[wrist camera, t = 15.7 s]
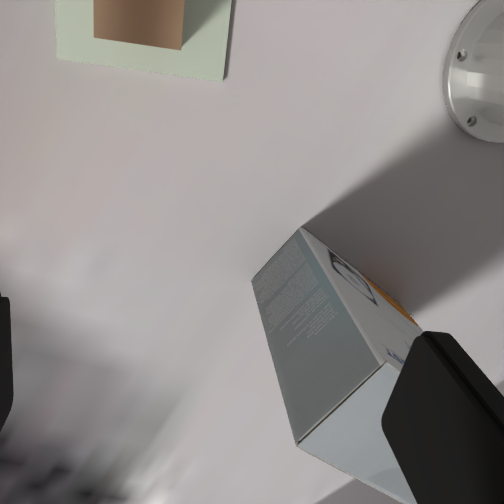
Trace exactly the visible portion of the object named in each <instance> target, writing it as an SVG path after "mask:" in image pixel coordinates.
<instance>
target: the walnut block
mask: <svg viewBox="0 0 504 504" xmlns="http://www.w3.org/2000/svg"><path fill="white" fill-rule="evenodd" d="M184 2H185V0H93V17H94V38H99V39H106V40H113V41H120V42H126V43H133V44H140V45H147V46H153V47H160V48H167V49H174V50H181V47H182V32H183V17H184Z"/></svg>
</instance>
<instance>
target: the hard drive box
mask: <svg viewBox="0 0 504 504" xmlns="http://www.w3.org/2000/svg"><path fill="white" fill-rule="evenodd" d="M251 283H252V286H253V290H254V294H255V297H256V301H257V304H258V308H259V312H260V315H261V320H262V323H263V327H264V330H265V334H266V338H267V341H268V345H269V349H270V352H271V356H272V359H273V363H274V367H275V370H276V374H277V378H278V382H279V385H280V389H281V393H282V396H283V400H284V404H285V407H286V410H287V414H288V418H289V422H290V425H291V429H292V433H293V436H294V440H295V443H296V446H297V447H298V448H300V449H302V450H303V451H305V452H307V453H309V454H310V455H312V456H314V457H316V458H318V459H320V460H322V461H324V462H325V463H327V464H329V465H331V466H333V467H335V468H337V469H339V470H340V471H342V472H344V473H346V474H348V475H350V476H352V477H354V478H356V479H358V480H360V481H362V482H364V483H365V484H367V485H369V486H371V487H373V488H375V489H377V490H379V491H380V492H382V493H384V494H386V495H388V496H390V497H392V498H393V499H395V500H397V501H399V502H401V503H403V504H417V502H416V500H415V498H414V496H413V494H412V492H411V489H410V487H409V485H408V483H407V481H406V479H405V477H404V475H403V473H402V471H401V468H400V466H399V464H398V462H397V460H396V458H395V456H394V454H393V452H392V449H391V447H390V445H389V443H388V441H387V439H386V437H385V435H384V433H383V430H382V426H381V418H382V414H383V412H384V410H385V407H386V405H387V403H388V400H389V398H390V395H391V393H392V391H393V388H394V386H395V384H396V381H397V379H398V376H399V374H400V372H401V369H402V367H403V365H404V362H405V360H406V357H407V355H408V353H409V350H410V348H411V345H412V343H413V341H414V339H415V338H416V337H417V336H420V335H421V334H422V333H423V331H422V329H421V328H420V327H419V326H418V325H417V323H416V322H415V321H414V320H413V319H412V317H411V316H410V315H409V314H408V313H407V311H406V310H405V309H404V308H403V307H402V306H401V305H400V304H398V303H397V302H396V301H395V300H393V299H392V298H391V297H390V296H388V295H387V294H386V293H385V292H383V291H382V290H381V289H380V288H378V287H377V286H376V285H375V284H373V283H372V282H371V281H370V280H368V279H367V278H366V277H365V276H363V275H362V274H361V273H359V272H358V271H357V270H356V269H354V268H353V267H352V266H351V265H349V264H348V263H347V262H346V261H344V260H343V259H342V258H341V257H339V256H338V255H337V254H336V253H335V252H333V251H332V250H331V249H329V248H328V247H327V246H326V245H324V244H323V243H322V242H321V241H319V240H318V239H317V238H315V237H314V236H313V235H312V234H310V233H309V232H308V231H306V230H305V229H304V228H303V227H300V228H299V229H298V230H297V231H296V232H295V233H294V235H293V236H292V237H291V238H290V239H289V240H288V241H287V242H286V243H285V244H284V245H283V246H282V248H281V249H280V250H279V251H278V252H277V253H276V254H275V255H274V256H273V257H272V258H271V259H270V261H269V262H268V263H267V264H266V265H265V266H264V267H263V268H262V269H261V270H260V271H259V273H258V274H257V275H256V276H255V277H254V278H253V279H252V281H251Z"/></svg>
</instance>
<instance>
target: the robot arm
mask: <svg viewBox="0 0 504 504" xmlns="http://www.w3.org/2000/svg"><path fill="white" fill-rule="evenodd" d="M457 54H458V57H457ZM443 91H444V97H445V103H446V105H447V108H448V110H449V113H450V115H451V117H452V118H453V119H454V121H455V122H456V124H457V125H458V126H459V127H460V128H461V129H462V130H463V131H465V132H466V133H467V134H469V135H471V136H473V137H475V138H477V139H481V140H484V141H486V142H492V143H504V0H481V1H480V2H479V3H478V4H477V5H476V6H475V7H474V8H473V9H472V10H471V11H470V12H469V13H468V15H467V16H466V18H465V19H464V20H463V22H462V23H461V25H460V26H459V28H458V30H457V32H456V34H455V36H454V38H453V40H452V41H451V44H450V47H449V50H448V53H447V56H446V60H445V66H444V72H443ZM12 402H13V370H12V345H11V320H10V301H9V298H8V297H1V293H0V431H1V429H2V427H3V425H4V423H5V421H6V419H7V417H8V415H9V412H10V410H11V407H12ZM381 426H382V430H383V433H384V435H385V437H386V439H387V441H388V443H389V445H390V447H391V449H392V452H393V454H394V456H395V458H396V460H397V462H398V464H399V466H400V468H401V471H402V473H403V475H404V477H405V479H406V481H407V483H408V485H409V487H410V489H411V492H412V494H413V496H414V498H415V500H416V502H417V504H504V397H503V395H502V394H501V393H500V392H499V391H498V389H497V388H496V387H495V386H494V385H493V384H492V382H491V381H490V380H489V379H488V378H487V376H486V375H485V374H484V373H483V372H482V371H481V369H480V368H479V367H478V366H477V365H476V364H475V362H474V361H473V360H472V359H471V358H470V356H469V355H468V354H467V353H466V352H465V351H464V349H463V348H462V347H461V346H460V345H459V344H458V342H457V341H456V340H455V339H454V338H453V336H451V335H450V334H449V333H443V332H433V331H425V332H423V333H422V334H421V335H420V336H417V337H416V338H415V339H414V341H413V343H412V345H411V348H410V350H409V353H408V355H407V357H406V360H405V362H404V365H403V367H402V369H401V372H400V374H399V376H398V379H397V381H396V384H395V386H394V388H393V391H392V393H391V395H390V398H389V400H388V403H387V405H386V407H385V410H384V412H383V414H382V418H381Z"/></svg>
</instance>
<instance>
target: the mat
mask: <svg viewBox="0 0 504 504" xmlns="http://www.w3.org/2000/svg"><path fill="white" fill-rule="evenodd" d="M231 1H232V0H185V2H184V17H183V32H182V47H181V50H174V49H167V48H160V47H153V46H147V45H140V44H133V43H126V42H120V41H113V40H106V39H99V38H94V17H93V0H55V18H56V45H57V59H60V60H67V61H74V62H81V63H89V64H96V65H103V66H110V67H117V68H124V69H131V70H138V71H146V72H153V73H160V74H167V75H174V76H181V77H188V78H195V79H203V80H210V81H217V82H223V75H224V66H225V57H226V47H227V38H228V29H229V20H230V11H231Z"/></svg>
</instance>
